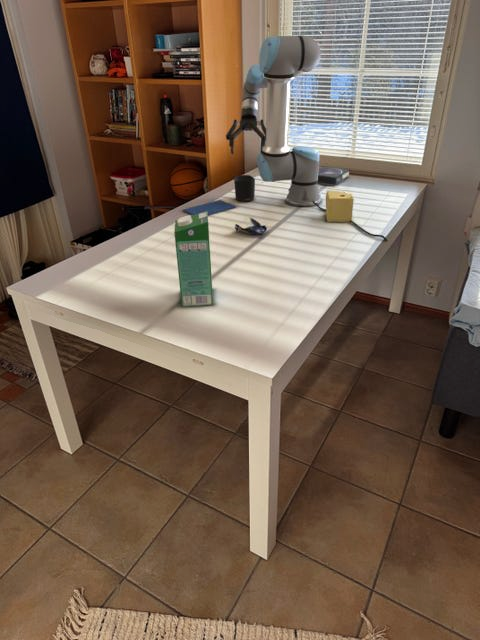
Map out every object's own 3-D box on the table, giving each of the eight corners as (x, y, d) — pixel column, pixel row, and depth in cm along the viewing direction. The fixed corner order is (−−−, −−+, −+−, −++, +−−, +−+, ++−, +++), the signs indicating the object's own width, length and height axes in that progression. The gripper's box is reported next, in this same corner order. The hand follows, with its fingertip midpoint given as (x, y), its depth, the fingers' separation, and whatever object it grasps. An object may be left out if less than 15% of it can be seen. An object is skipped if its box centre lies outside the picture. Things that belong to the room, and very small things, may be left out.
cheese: (349, 213, 197) (351, 190, 192) (352, 222, 188) (354, 198, 183) (324, 213, 198) (326, 190, 193) (325, 222, 189) (327, 198, 184)
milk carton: (182, 291, 142) (174, 212, 129) (212, 290, 143) (207, 210, 130) (181, 306, 135) (173, 223, 121) (213, 304, 135) (208, 222, 122)
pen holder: (231, 201, 215) (231, 179, 209) (238, 195, 222) (238, 174, 217) (251, 203, 212) (251, 181, 206) (257, 197, 219) (257, 175, 214)
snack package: (249, 225, 189) (229, 232, 182) (251, 210, 185) (231, 217, 178) (272, 237, 183) (252, 245, 176) (274, 222, 179) (254, 230, 172)
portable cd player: (336, 185, 232) (336, 177, 230) (304, 181, 240) (305, 173, 238) (348, 177, 243) (349, 169, 241) (318, 173, 251) (319, 166, 249)
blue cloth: (235, 207, 208) (235, 206, 207) (198, 218, 197) (198, 216, 197) (219, 201, 216) (219, 199, 215) (183, 210, 205) (183, 209, 205)
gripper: (276, 117, 223) (273, 157, 218) (224, 117, 226) (221, 156, 221) (275, 106, 216) (273, 147, 211) (222, 106, 218) (218, 147, 214)
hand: (246, 152), depth 216 cm, fingers open, 13 cm apart
